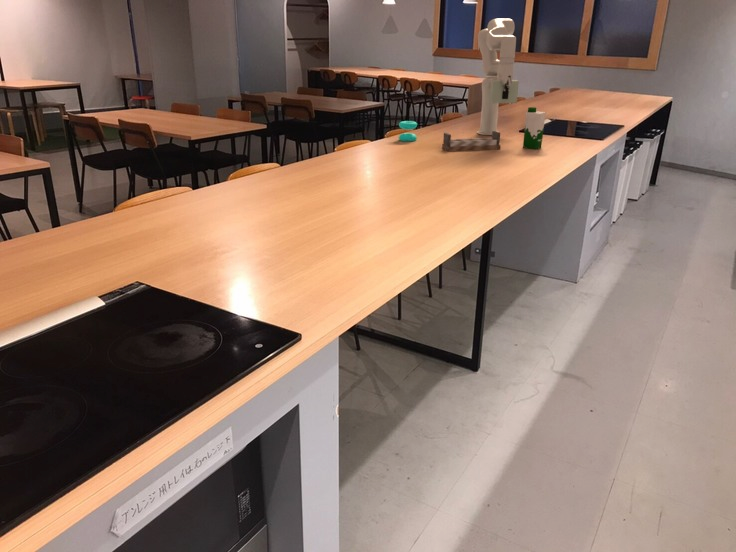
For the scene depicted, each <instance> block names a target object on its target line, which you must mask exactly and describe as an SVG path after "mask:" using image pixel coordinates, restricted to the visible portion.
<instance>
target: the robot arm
mask: <svg viewBox="0 0 736 552" xmlns="http://www.w3.org/2000/svg"><path fill="white" fill-rule="evenodd" d="M514 32H515V22H514V20H513V19H511V18H493V19H490V20H489V22H488V24H487V28H484V29H481V30H480V31H479V32H478V34H477V44H478V49H479V51H480V54H481V59H482V60H481V61H482V72H483V76H484V77H485V78H484V79H482V82H481V96H482V98H481V112H480V113H481V114H480V127H479V130H477V131H476V133H477V134H478V135H483V136H492V131H497V132H499V130H497V127H498V116H499V104H500V103H490V91H491V81H501V85H504V88H503V93H502V99H508V94H509V88H510V87H511V84H512V81H513V80H514V65H515V58H516V55H515V54H516V46H517V37H516V36H515V35H513V34H514ZM497 51H499V59H498V53H497ZM506 83H508V85H505V84H506ZM505 86H506V87H505Z"/></svg>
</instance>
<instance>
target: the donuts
mask: <svg viewBox="0 0 736 552" xmlns="http://www.w3.org/2000/svg"><path fill="white" fill-rule="evenodd" d="M398 126H399V128H400V129H403V130H415V129H416V128H417V126H418V123H417V122H416V121H413V120H404V121H400V122H399V123H398ZM417 138H418V137H417V135H416V134H415V133H410V132H404V133H401V134H400V135H399V136H398V140H399V141H401V142H406V141H410V142H414V141H416V140H417Z"/></svg>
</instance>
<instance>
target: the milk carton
mask: <svg viewBox="0 0 736 552" xmlns="http://www.w3.org/2000/svg"><path fill="white" fill-rule="evenodd" d="M546 114H547V112H545V111H540V110H539V111H537V107H534V106H533V107H532V106H530V107H528V108H527V111H526V112H525V124H524V134H523V143H522V148H523V149H529V150H538V149H541V148H542V144H543V135H544V130H545V128H544V127H545V121H546V116H547V115H546Z"/></svg>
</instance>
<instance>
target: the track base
mask: <svg viewBox="0 0 736 552" xmlns="http://www.w3.org/2000/svg"><path fill="white" fill-rule="evenodd" d="M497 131H498V130H496V131H492V135H491V137H481V138H480V137H478V138H476V137H474V138H453V139H452V135H451V134H450V133H449V132H443V140H442V141H443V143H442V145H441V148H442V149H443V148H444V149H443V150H445V151H447V152H465V151H466V152H467V151H490V150H491V151H492V150H493V151H494V150H501V144H500V143H501V142H500V140H501V132H499V131H498V132H497Z"/></svg>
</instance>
